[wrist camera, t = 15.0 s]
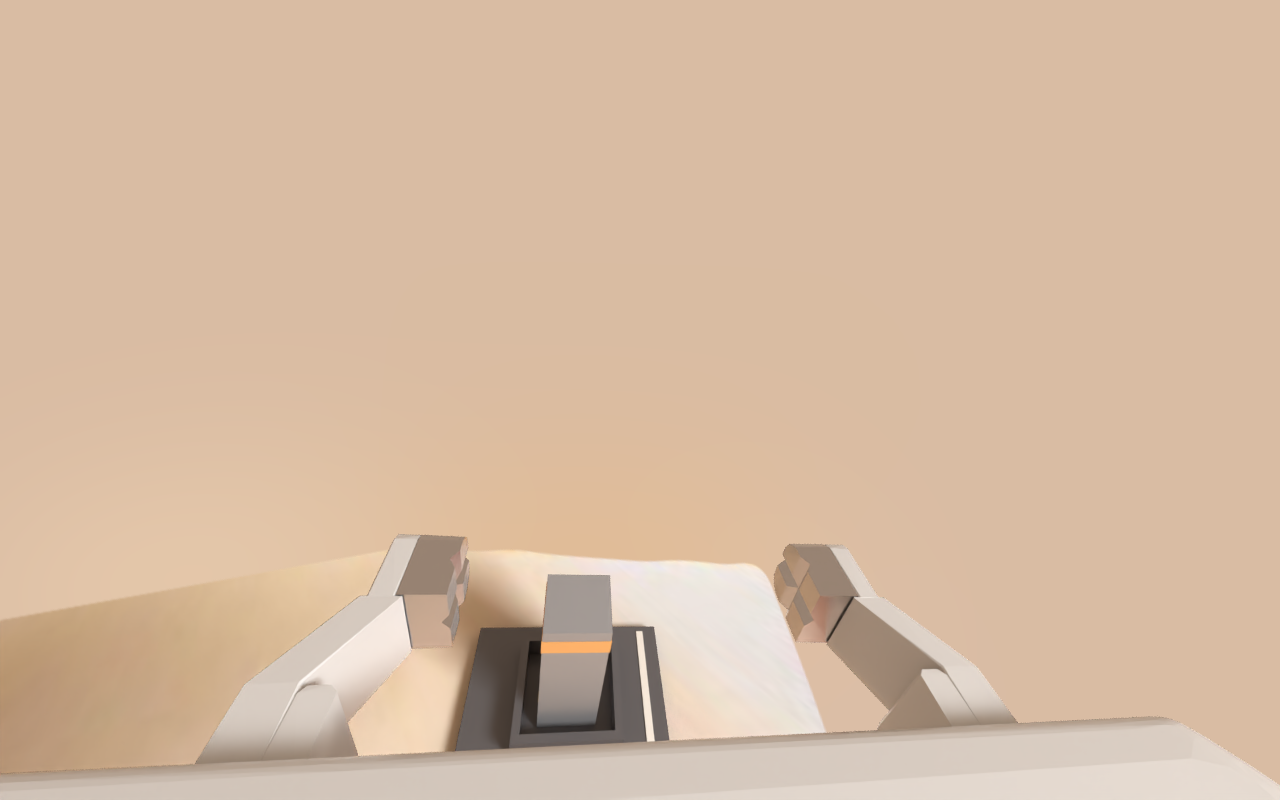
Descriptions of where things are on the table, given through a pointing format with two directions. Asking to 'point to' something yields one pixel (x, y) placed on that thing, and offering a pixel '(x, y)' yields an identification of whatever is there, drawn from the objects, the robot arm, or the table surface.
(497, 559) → the table surface
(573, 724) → the plug
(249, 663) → the table surface
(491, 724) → the socket
